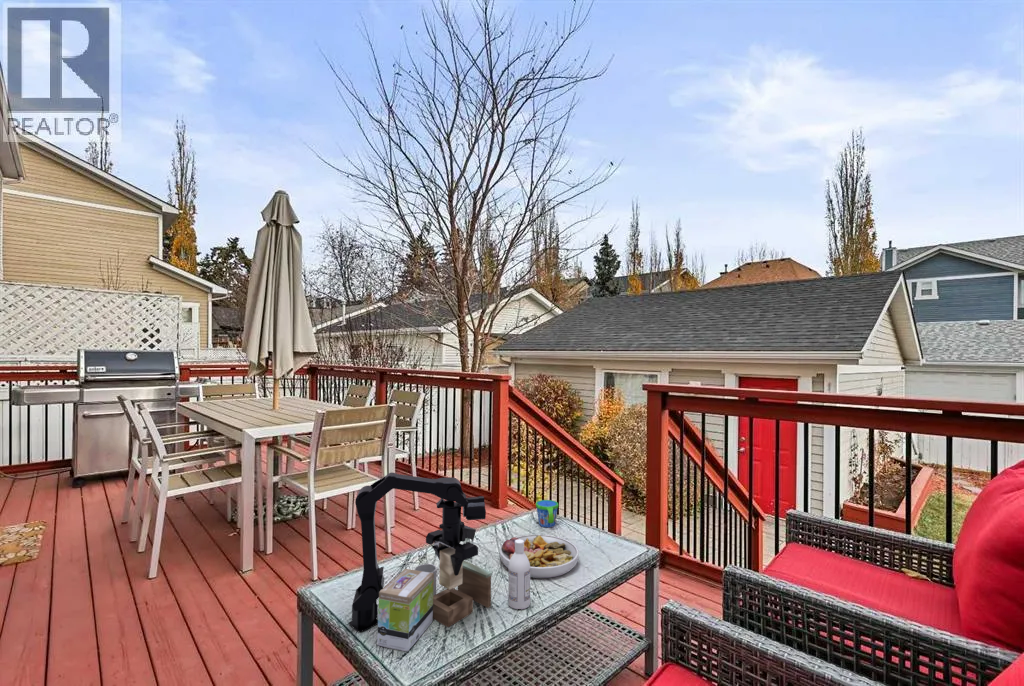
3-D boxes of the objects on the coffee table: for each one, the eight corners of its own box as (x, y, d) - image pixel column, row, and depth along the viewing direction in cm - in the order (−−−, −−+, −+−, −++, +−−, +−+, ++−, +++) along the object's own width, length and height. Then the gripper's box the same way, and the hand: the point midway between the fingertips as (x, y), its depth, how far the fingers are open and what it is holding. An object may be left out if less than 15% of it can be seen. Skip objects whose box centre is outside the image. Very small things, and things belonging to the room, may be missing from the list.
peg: (462, 583, 141) (462, 550, 141) (449, 589, 137) (450, 556, 137) (452, 578, 144) (452, 546, 144) (439, 583, 140) (439, 550, 141)
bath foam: (528, 598, 150) (528, 536, 151) (531, 609, 143) (531, 545, 144) (507, 599, 149) (507, 537, 150) (509, 610, 142) (509, 545, 143)
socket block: (453, 630, 132) (454, 592, 132) (420, 611, 142) (420, 576, 142) (492, 607, 145) (492, 572, 145) (459, 591, 154) (459, 558, 154)
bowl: (576, 548, 189) (576, 528, 190) (580, 584, 160) (580, 561, 160) (504, 544, 192) (504, 526, 193) (495, 580, 163) (495, 557, 163)
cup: (420, 604, 146) (420, 576, 146) (406, 591, 154) (406, 564, 154) (440, 597, 150) (440, 569, 150) (426, 585, 158) (426, 558, 158)
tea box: (409, 653, 122) (410, 597, 123) (376, 646, 125) (376, 591, 125) (433, 621, 137) (434, 571, 137) (403, 616, 140) (404, 567, 140)
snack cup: (534, 519, 222) (534, 498, 222) (555, 518, 222) (555, 497, 222) (537, 531, 206) (537, 508, 206) (560, 531, 207) (560, 508, 207)
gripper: (491, 521, 141) (491, 573, 140) (452, 507, 153) (451, 554, 153) (464, 531, 132) (463, 586, 132) (425, 515, 145) (424, 565, 145)
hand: (450, 572), depth 141 cm, fingers closed on peg, 5 cm apart
